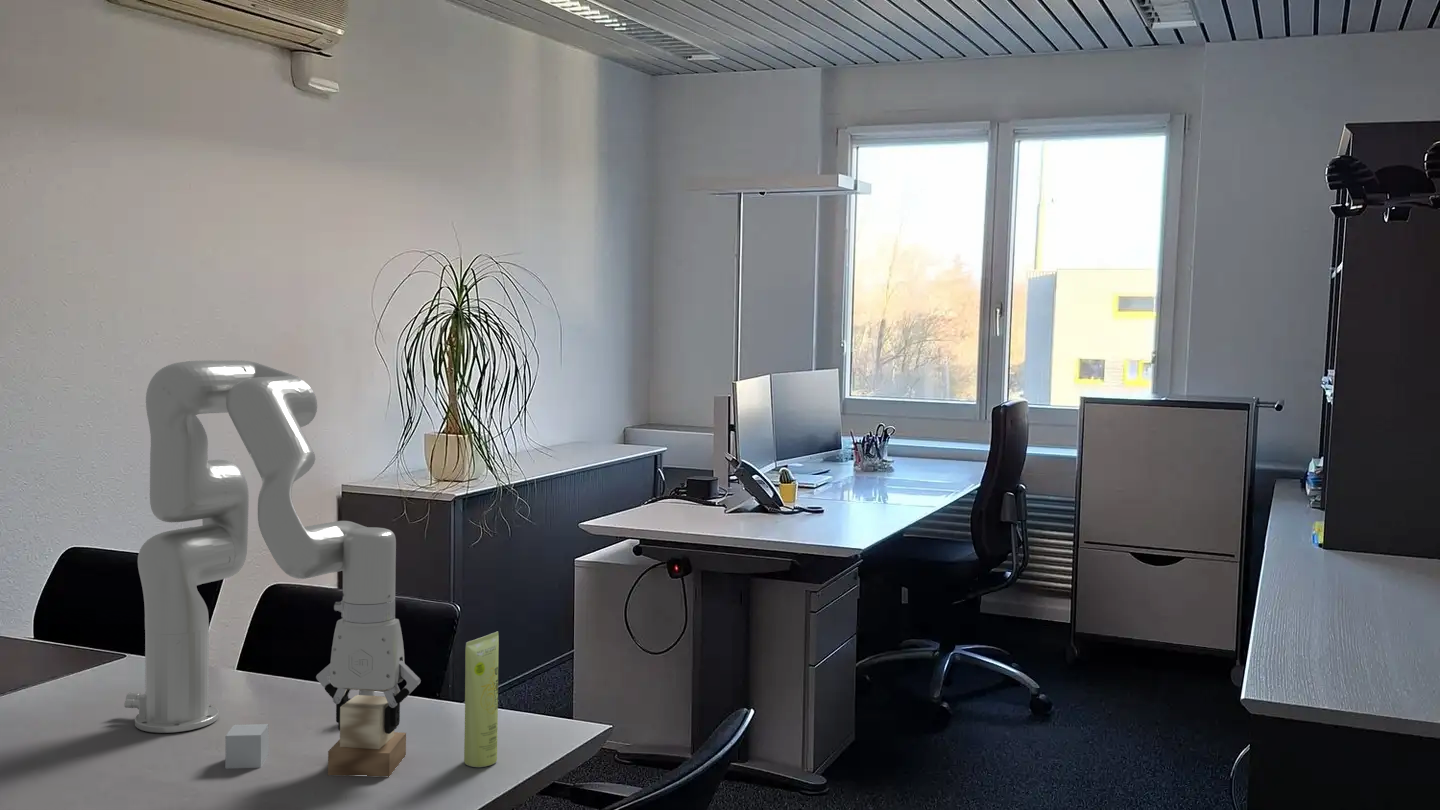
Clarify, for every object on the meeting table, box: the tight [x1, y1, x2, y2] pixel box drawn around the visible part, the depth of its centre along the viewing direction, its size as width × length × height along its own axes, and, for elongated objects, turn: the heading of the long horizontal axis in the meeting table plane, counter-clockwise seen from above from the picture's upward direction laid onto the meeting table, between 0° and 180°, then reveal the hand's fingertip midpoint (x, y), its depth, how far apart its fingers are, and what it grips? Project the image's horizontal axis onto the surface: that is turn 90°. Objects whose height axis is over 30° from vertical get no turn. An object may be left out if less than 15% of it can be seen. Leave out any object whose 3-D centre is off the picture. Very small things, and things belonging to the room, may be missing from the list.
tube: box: [463, 631, 500, 768], centre depth 182 cm, size 6×5×20 cm
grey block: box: [224, 723, 269, 770], centre depth 180 cm, size 5×5×5 cm
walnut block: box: [327, 731, 407, 778], centre depth 180 cm, size 9×9×4 cm
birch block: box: [339, 694, 395, 749], centre depth 180 cm, size 6×6×6 cm
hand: (367, 728), depth 180 cm, fingers open, 6 cm apart
